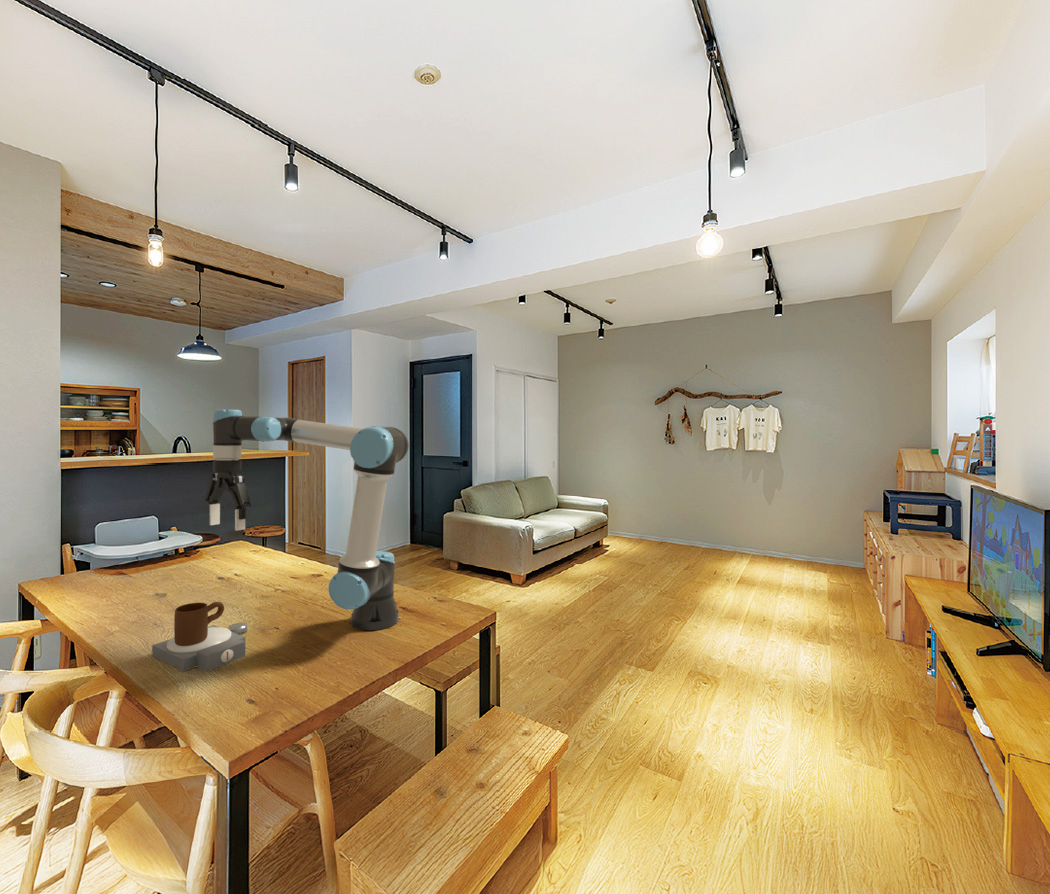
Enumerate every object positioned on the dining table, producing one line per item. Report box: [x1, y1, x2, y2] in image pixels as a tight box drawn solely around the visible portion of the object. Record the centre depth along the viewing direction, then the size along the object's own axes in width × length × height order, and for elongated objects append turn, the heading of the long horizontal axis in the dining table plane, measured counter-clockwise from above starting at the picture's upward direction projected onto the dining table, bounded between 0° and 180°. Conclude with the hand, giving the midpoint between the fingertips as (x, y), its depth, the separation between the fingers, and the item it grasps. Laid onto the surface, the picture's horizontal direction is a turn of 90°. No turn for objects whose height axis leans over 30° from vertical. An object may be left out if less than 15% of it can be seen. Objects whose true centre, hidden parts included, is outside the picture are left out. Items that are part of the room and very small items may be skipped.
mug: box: [173, 601, 225, 646], centre depth 134 cm, size 12×8×9 cm, turn 144°
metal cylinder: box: [227, 622, 248, 635], centre depth 148 cm, size 5×5×2 cm
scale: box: [151, 624, 247, 672], centre depth 133 cm, size 21×16×4 cm
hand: (227, 527), depth 150 cm, fingers open, 13 cm apart
